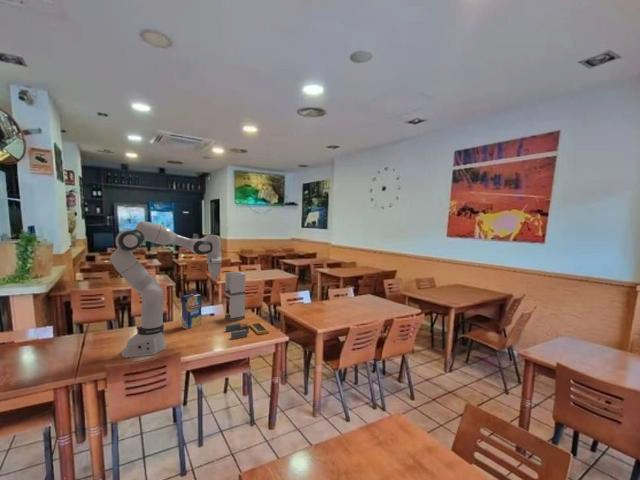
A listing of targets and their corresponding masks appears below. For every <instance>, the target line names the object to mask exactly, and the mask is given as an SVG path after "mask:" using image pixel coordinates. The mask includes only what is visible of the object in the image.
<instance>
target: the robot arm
mask: <svg viewBox="0 0 640 480" xmlns="http://www.w3.org/2000/svg"><path fill="white" fill-rule="evenodd" d="M145 241H146V242H150V243H152V244H157V245H161V246H163V245H164V246H168V245H175V246H179V247H182V248H184V249H187V250H188V251H189V252H190V253H192V254H196V255H199V256H202V255H206V262H207V270H208V272H209V273H210V274H211V280H212V281H216V280H217V279H216V278H217V276H220V275H221V273H222V272H221V270H222V263H223V259H222V253H221V248H222V242H221V241H222V239H221V237H220V236H219V234H213V233H208V234H207V235H206V236H204V237H201V238H198V237H191V238H189V237H185V236H182V235H179V234H177V233H175V232H174V231H173V230H172V229H171V228H169V227H166V226H164V225H162V224H159V223H154V222H151V221H142V220H141V221H140V222H138V223H137V225H136V226H135V228H134V229H132V230H131V229H130V230H129V229H127V230H122V231H120V232H118V233H117V234H116V236H115V239H114V244H115V249H116V250H115V251H113V252H112V253H111V254H110V256H109V260H110V262H111V263H112V266H113V267H114V269H115V270H116V271H117V272H118V274H119V275H120V276H121V277H122V278H123V279H124V280H125V281H126V283H127V284H128V285H130V286H131V287H132V288H133V289H134V290H135V291H136V292H137V293H138V294H139V295H140V297H141V316H140V317H141V318H140V321H141V323H140V324H141V325H136V330H137V331H136V334H134V335H133V336H131V338H129V339H128V341H127V343H126V345H125V346H126V347H124V348H123V349H122V350H121V353H120V354H121V357H122V356H123V358H124V357H125V359H126V358H127V359H128V357H129V358H137V357H146V356H153V355H157V353H159V352H161V351H163V350H165V349H166V347H167V345H166V342H165V337H164V333H165V326H164V322H163V321H164V314H163V312H164V302H165V299H164V297H165V296H164V295H165V293H164V289H163V288H162V286H161V285H160V284H159V282H157V280H156V279H155V278H154V277H153V276H152V275H151V274H150V273H149V271H147V269H146V268H145V267H144V266H143V265H142V263H141V262H140V261H139V259H137V258H136V257H135V255H134V253H133V251H134V250H135V251H136V249H138V248H140V246H141V245H142V244H143V242H145Z"/></svg>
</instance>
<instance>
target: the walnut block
mask: <svg viewBox="0 0 640 480" xmlns="http://www.w3.org/2000/svg"><path fill="white" fill-rule="evenodd" d="M240 330H247V334H249V333H250V327H249V325H248V323H242V324H241V325H239V330H238V331H240Z"/></svg>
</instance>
